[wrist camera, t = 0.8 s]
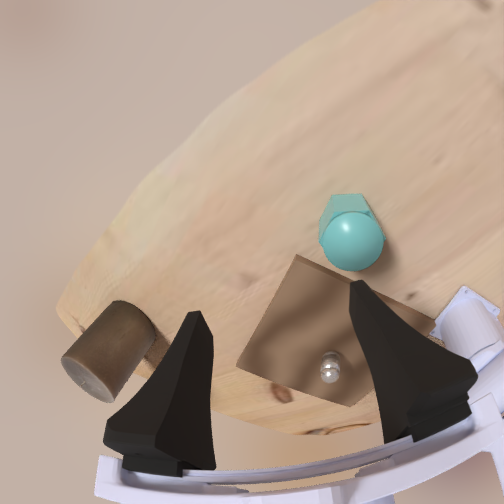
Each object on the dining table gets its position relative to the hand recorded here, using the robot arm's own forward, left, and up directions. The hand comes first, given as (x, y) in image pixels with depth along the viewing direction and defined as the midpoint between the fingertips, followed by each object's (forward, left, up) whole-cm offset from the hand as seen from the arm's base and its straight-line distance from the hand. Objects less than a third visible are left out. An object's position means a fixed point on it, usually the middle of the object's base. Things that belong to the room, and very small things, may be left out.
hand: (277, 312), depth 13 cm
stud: (-11, +15, -15) cm, 24 cm away
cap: (-4, -1, -16) cm, 17 cm away
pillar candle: (+17, +29, -17) cm, 37 cm away
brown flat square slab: (-11, +15, -16) cm, 25 cm away
